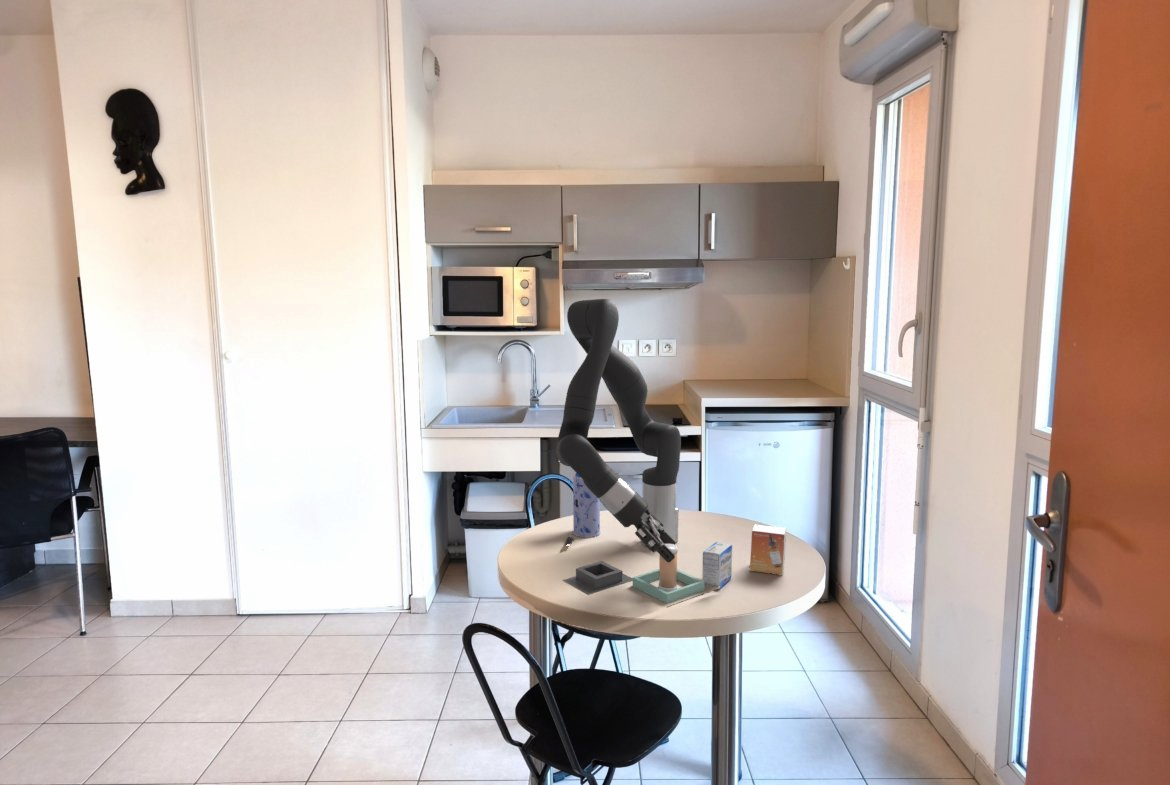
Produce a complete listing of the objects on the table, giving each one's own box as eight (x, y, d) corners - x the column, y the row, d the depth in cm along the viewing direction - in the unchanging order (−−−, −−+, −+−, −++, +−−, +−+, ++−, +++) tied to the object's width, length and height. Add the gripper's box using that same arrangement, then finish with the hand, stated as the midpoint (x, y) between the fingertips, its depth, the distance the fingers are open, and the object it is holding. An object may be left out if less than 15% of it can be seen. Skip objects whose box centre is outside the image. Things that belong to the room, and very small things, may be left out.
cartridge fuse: (659, 584, 168) (659, 543, 167) (677, 585, 168) (677, 544, 166) (658, 591, 164) (658, 549, 163) (676, 592, 164) (677, 550, 162)
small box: (749, 571, 178) (750, 530, 177) (752, 563, 183) (753, 523, 182) (782, 576, 176) (784, 534, 174) (784, 567, 181) (786, 527, 179)
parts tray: (668, 577, 174) (669, 565, 174) (704, 594, 165) (704, 581, 165) (632, 589, 167) (632, 577, 167) (666, 607, 158) (667, 594, 158)
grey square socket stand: (608, 570, 179) (608, 556, 178) (635, 583, 171) (635, 569, 170) (562, 584, 170) (562, 570, 170) (588, 598, 162) (588, 584, 162)
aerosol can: (570, 529, 208) (569, 462, 205) (596, 527, 210) (596, 460, 207) (576, 538, 201) (576, 468, 198) (603, 536, 203) (603, 467, 200)
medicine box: (719, 590, 167) (720, 554, 166) (701, 586, 169) (702, 551, 168) (731, 579, 174) (732, 544, 172) (714, 575, 176) (715, 540, 175)
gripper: (632, 500, 157) (684, 553, 157) (636, 482, 171) (684, 531, 171) (607, 522, 158) (659, 575, 158) (614, 503, 172) (661, 552, 172)
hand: (672, 552), depth 165 cm, fingers open, 8 cm apart
